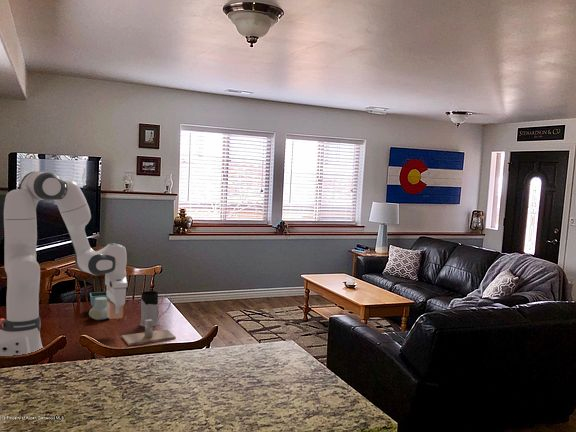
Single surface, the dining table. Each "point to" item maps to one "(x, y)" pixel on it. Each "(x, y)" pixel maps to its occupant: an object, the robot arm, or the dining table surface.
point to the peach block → (111, 311)
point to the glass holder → (150, 307)
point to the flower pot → (96, 295)
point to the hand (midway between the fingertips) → (114, 311)
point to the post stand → (148, 335)
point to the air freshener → (99, 309)
